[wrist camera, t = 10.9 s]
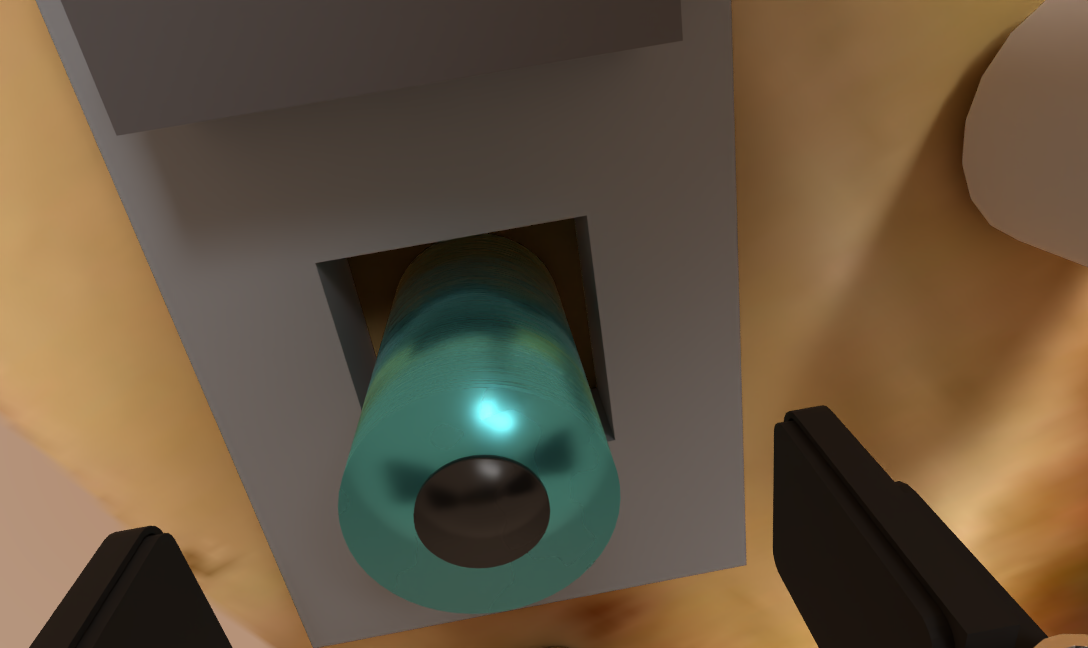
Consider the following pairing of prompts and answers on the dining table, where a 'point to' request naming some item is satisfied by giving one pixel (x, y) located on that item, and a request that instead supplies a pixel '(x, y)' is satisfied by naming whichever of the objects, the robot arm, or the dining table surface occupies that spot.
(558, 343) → the teal translucent cylinder
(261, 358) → the plate
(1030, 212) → the can
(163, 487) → the dining table surface
